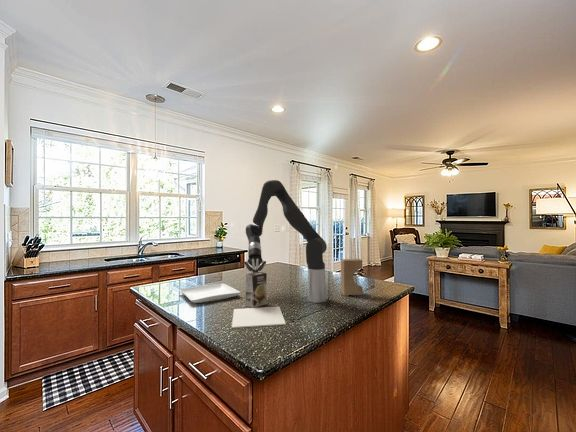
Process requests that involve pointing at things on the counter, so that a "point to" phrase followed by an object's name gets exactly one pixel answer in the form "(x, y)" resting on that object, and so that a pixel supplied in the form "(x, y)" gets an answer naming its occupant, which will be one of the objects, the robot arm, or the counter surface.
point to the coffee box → (256, 289)
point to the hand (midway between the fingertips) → (255, 276)
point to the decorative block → (350, 277)
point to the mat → (257, 317)
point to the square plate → (209, 293)
